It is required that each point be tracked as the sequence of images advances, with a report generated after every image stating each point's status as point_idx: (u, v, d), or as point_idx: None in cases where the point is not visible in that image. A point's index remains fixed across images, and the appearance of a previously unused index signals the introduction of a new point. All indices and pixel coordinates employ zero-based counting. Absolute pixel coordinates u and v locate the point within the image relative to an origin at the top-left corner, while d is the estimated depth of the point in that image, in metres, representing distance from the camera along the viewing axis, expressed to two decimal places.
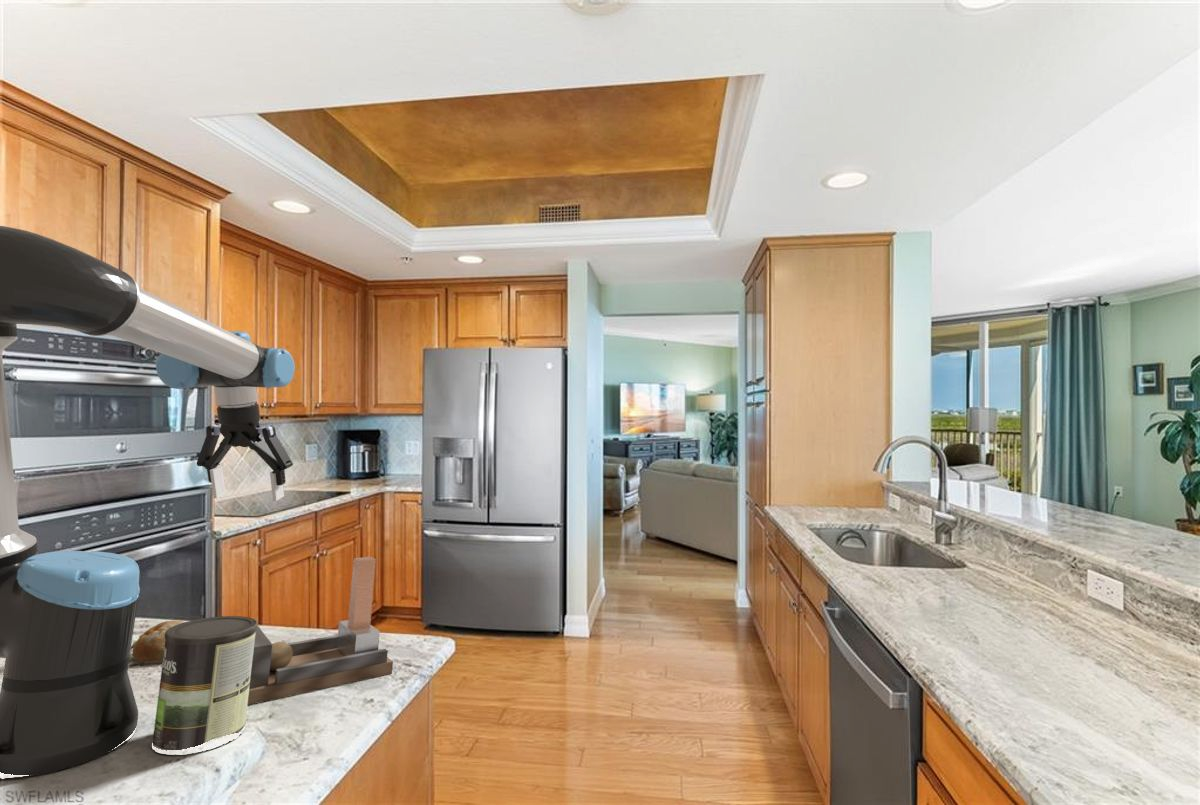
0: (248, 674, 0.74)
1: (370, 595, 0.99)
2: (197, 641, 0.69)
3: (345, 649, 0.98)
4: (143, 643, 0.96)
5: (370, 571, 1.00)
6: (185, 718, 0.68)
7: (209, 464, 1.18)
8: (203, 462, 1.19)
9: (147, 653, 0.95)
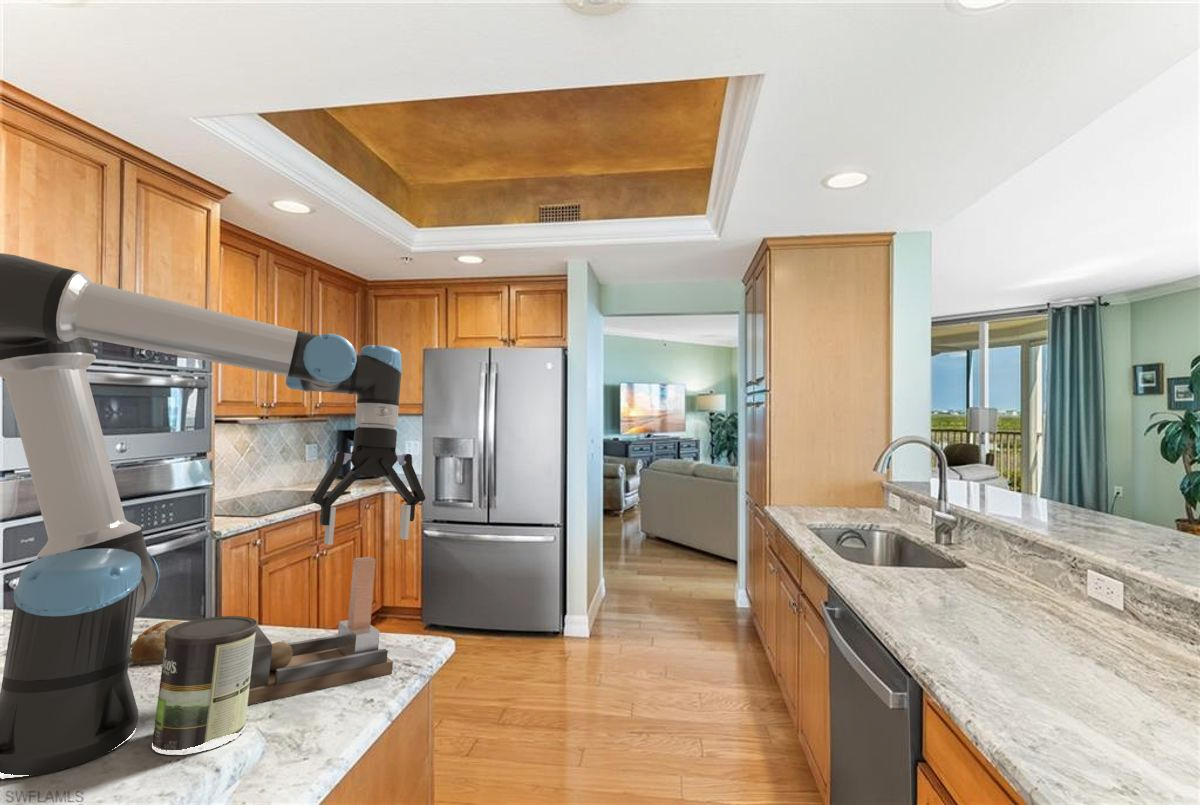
0: (248, 674, 0.74)
1: (370, 595, 0.99)
2: (197, 641, 0.69)
3: (345, 649, 0.98)
4: (142, 643, 0.96)
5: (370, 571, 1.00)
6: (185, 718, 0.68)
7: None
8: (414, 496, 1.08)
9: (145, 653, 0.95)
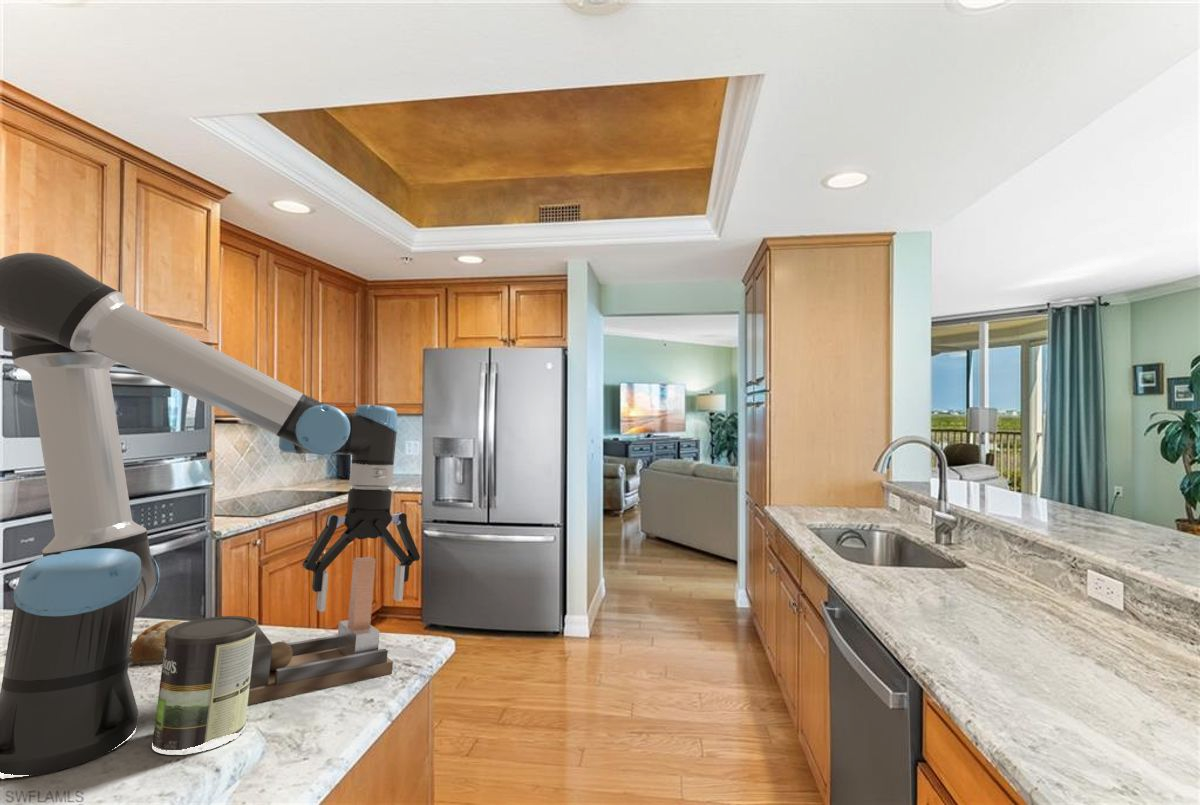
0: (248, 674, 0.74)
1: (370, 595, 0.99)
2: (197, 641, 0.69)
3: (345, 649, 0.98)
4: (141, 643, 0.96)
5: (370, 571, 1.00)
6: (185, 718, 0.68)
7: None
8: (408, 555, 1.07)
9: (144, 653, 0.95)
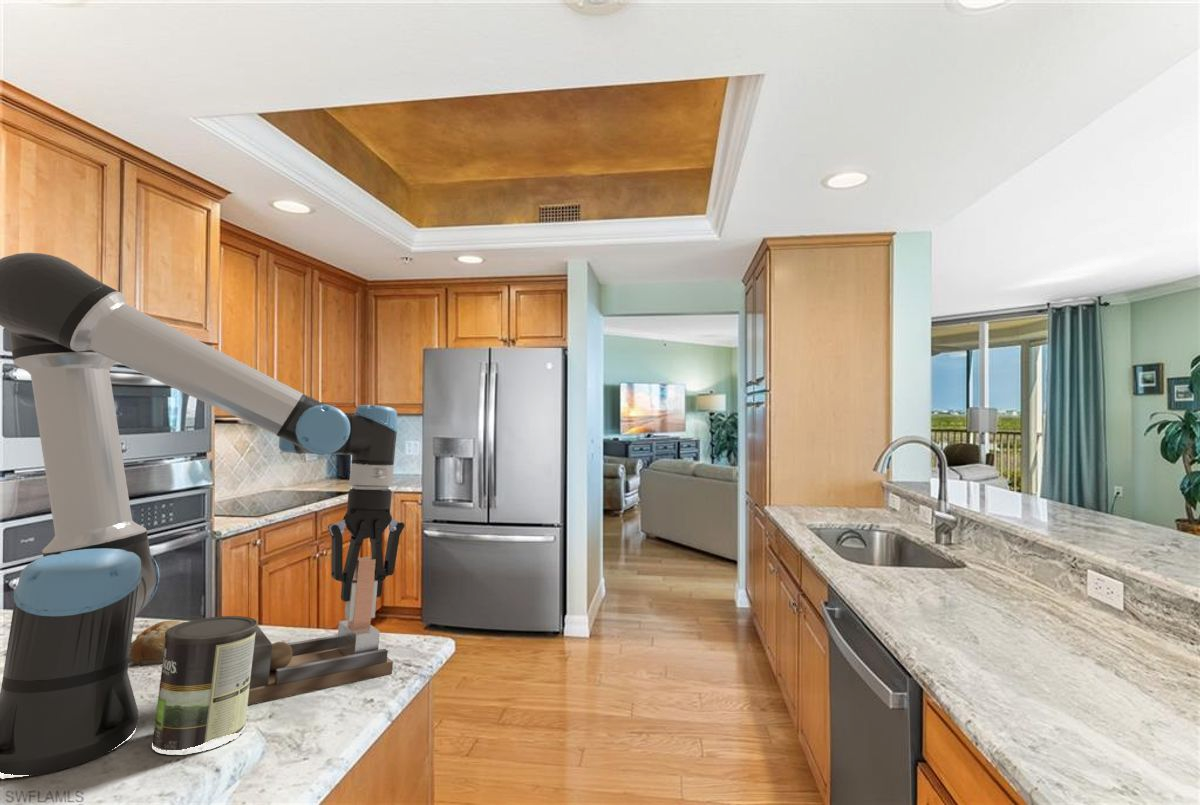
0: (248, 674, 0.74)
1: (370, 595, 0.99)
2: (197, 641, 0.69)
3: (345, 649, 0.98)
4: (141, 643, 0.96)
5: (370, 571, 1.00)
6: (185, 718, 0.68)
7: None
8: None
9: (144, 653, 0.95)
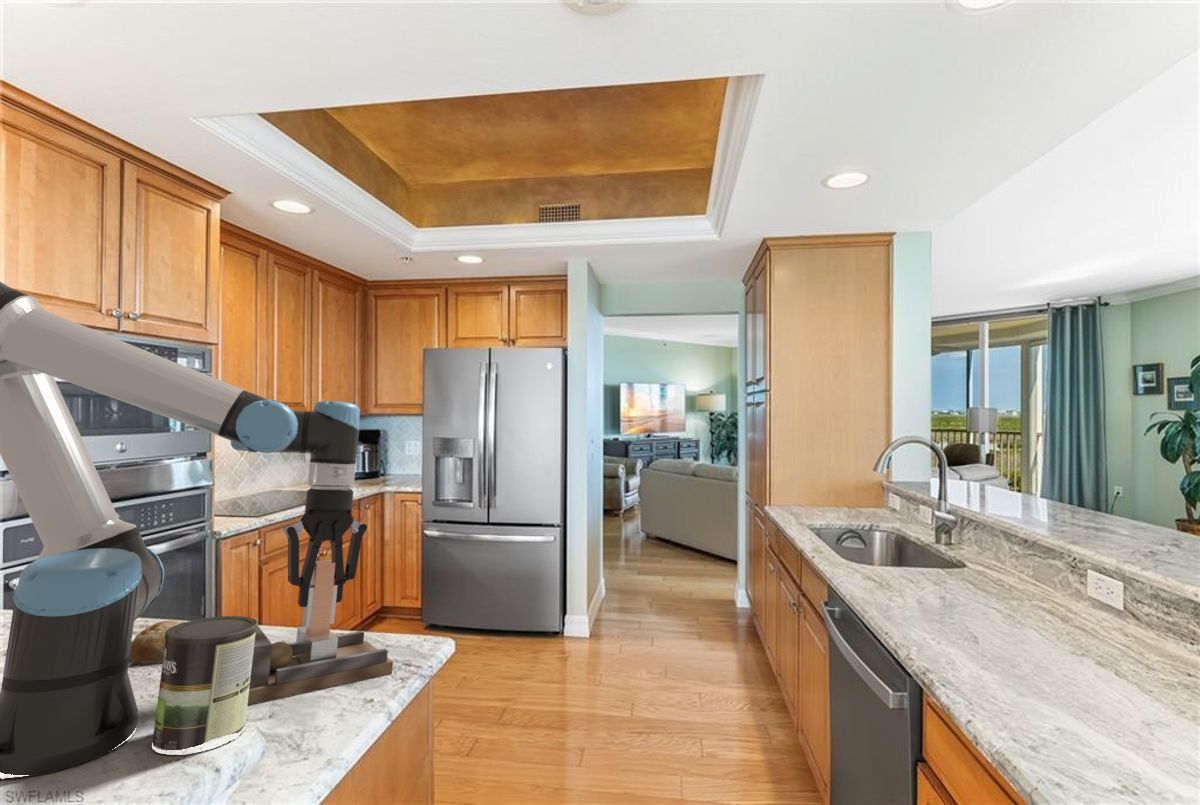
0: (248, 674, 0.74)
1: (329, 600, 0.95)
2: (197, 641, 0.69)
3: (302, 657, 0.93)
4: (139, 643, 0.96)
5: (329, 575, 0.95)
6: (185, 718, 0.68)
7: None
8: (343, 573, 0.99)
9: (143, 653, 0.95)
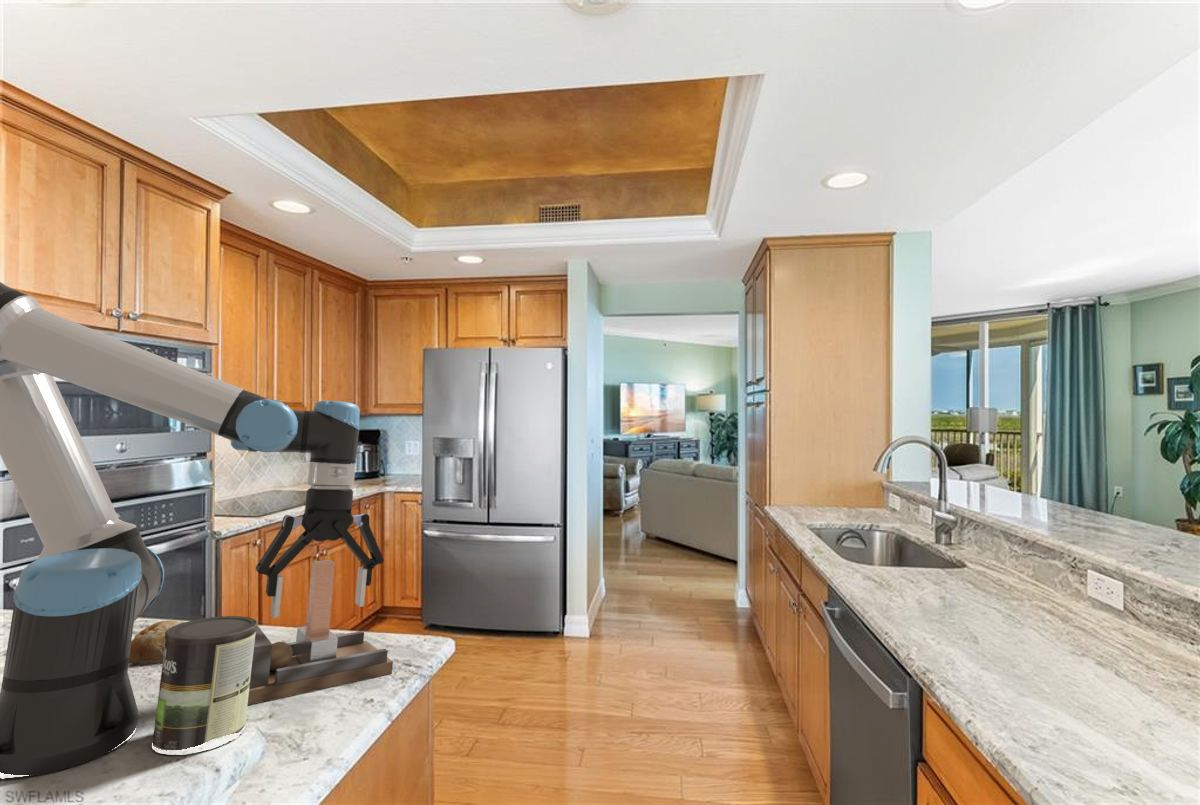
0: (248, 674, 0.74)
1: (329, 600, 0.95)
2: (197, 641, 0.69)
3: (301, 657, 0.93)
4: (139, 643, 0.96)
5: (329, 575, 0.95)
6: (185, 718, 0.68)
7: None
8: (372, 557, 1.02)
9: (142, 653, 0.95)
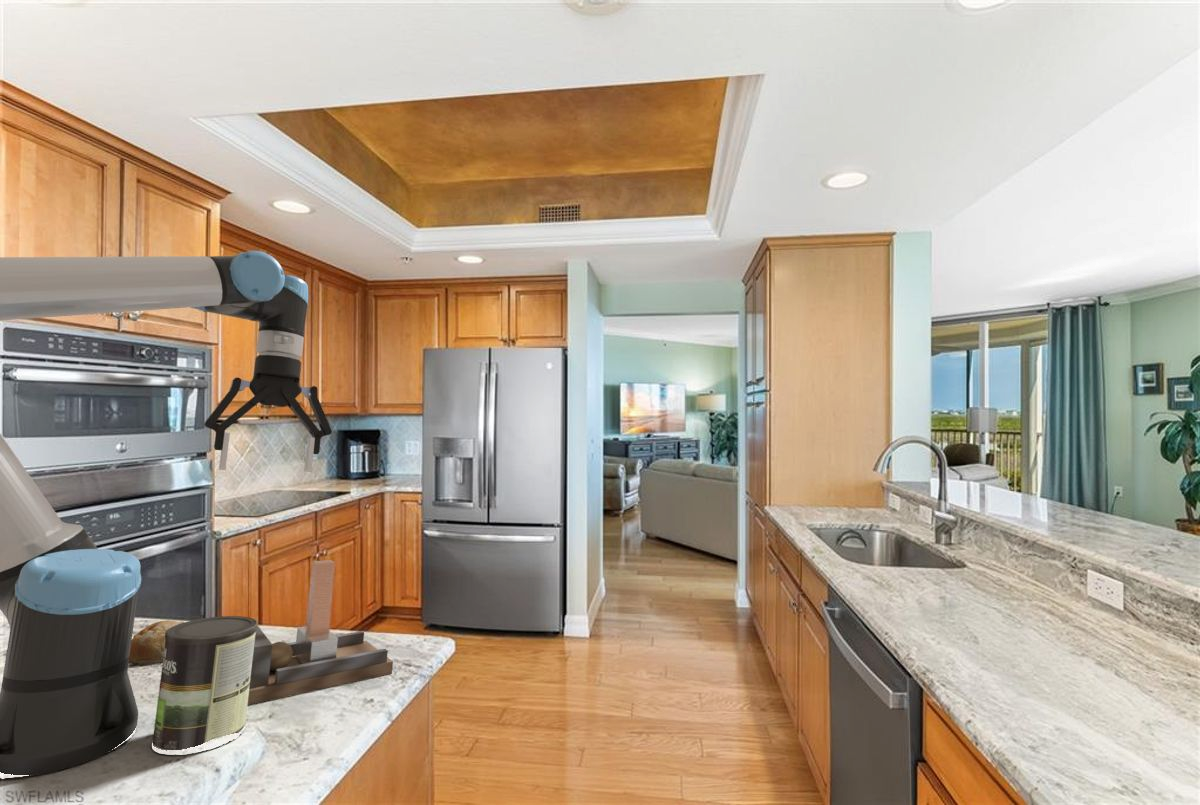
0: (248, 674, 0.74)
1: (329, 600, 0.95)
2: (197, 641, 0.69)
3: (301, 657, 0.93)
4: (137, 643, 0.96)
5: (329, 575, 0.95)
6: (185, 718, 0.68)
7: None
8: (321, 430, 1.07)
9: (141, 653, 0.95)
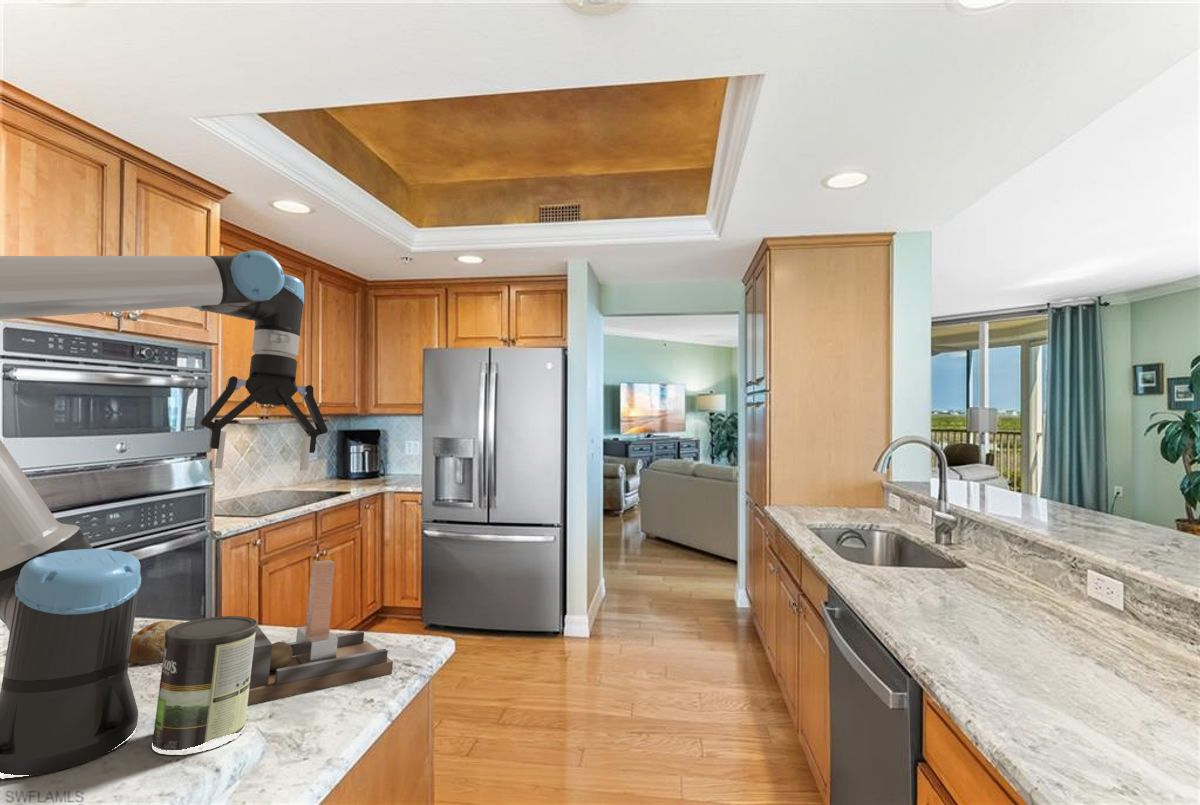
0: (248, 674, 0.74)
1: (329, 600, 0.95)
2: (197, 641, 0.69)
3: (301, 657, 0.93)
4: (137, 643, 0.96)
5: (329, 575, 0.95)
6: (185, 718, 0.68)
7: None
8: (317, 429, 1.08)
9: (140, 653, 0.95)
